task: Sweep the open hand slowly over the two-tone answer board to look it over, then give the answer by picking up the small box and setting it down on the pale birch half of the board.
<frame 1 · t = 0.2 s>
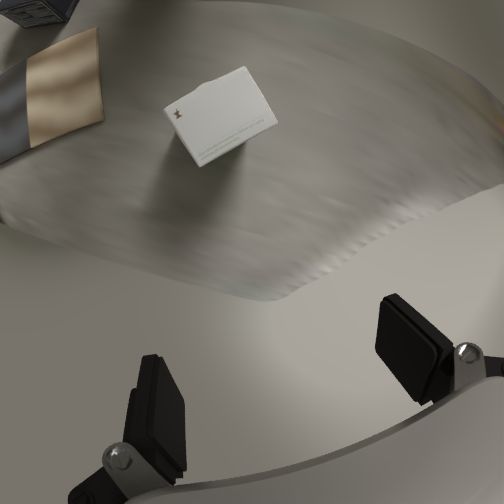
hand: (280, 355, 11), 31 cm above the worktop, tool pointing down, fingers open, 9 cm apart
skincare box: (212, 129, 36), on the worktop
answer board: (29, 101, 27), on the worktop
small box: (52, 10, 22), on the worktop
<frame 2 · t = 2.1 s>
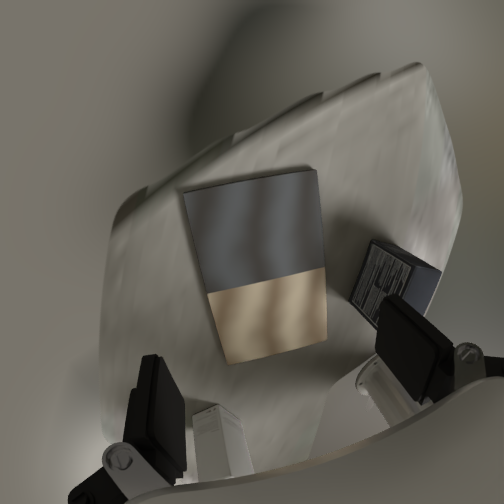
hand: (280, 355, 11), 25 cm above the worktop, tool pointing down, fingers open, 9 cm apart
skincare box: (218, 417, 47), on the worktop
answer board: (266, 277, 37), on the worktop
small box: (374, 273, 41), on the worktop
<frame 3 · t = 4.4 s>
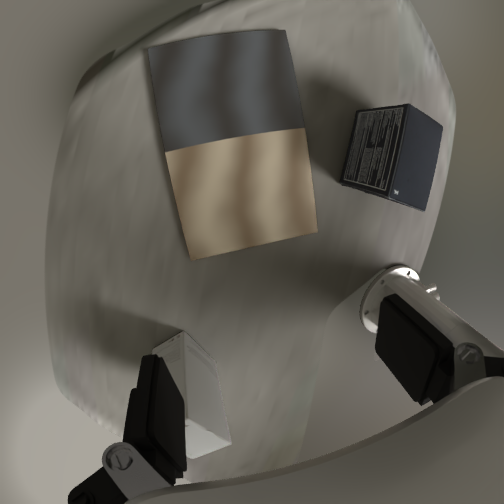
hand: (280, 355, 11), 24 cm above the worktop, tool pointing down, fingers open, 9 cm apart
skincare box: (186, 354, 39), on the worktop
answer board: (235, 137, 30), on the worktop
small box: (366, 153, 33), on the worktop
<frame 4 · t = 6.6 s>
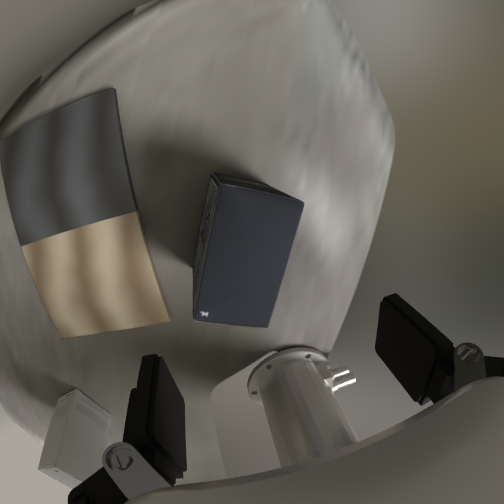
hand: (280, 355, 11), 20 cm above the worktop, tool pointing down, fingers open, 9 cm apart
skincare box: (86, 405, 35), on the worktop
answer board: (73, 227, 26), on the worktop
small box: (230, 226, 29), on the worktop
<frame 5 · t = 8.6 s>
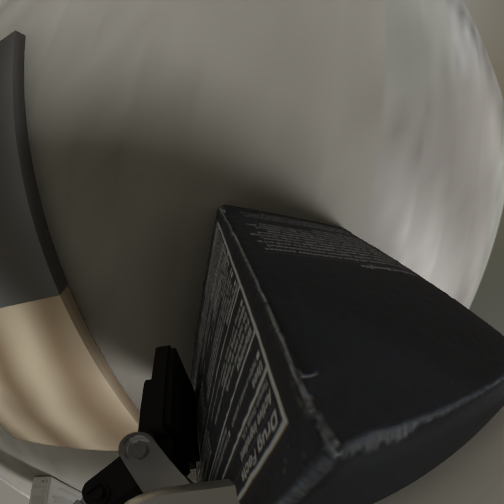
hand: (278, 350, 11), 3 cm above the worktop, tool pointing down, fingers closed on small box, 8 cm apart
skincare box: (67, 488, 20), on the worktop
small box: (263, 317, 14), on the worktop, touching gripper
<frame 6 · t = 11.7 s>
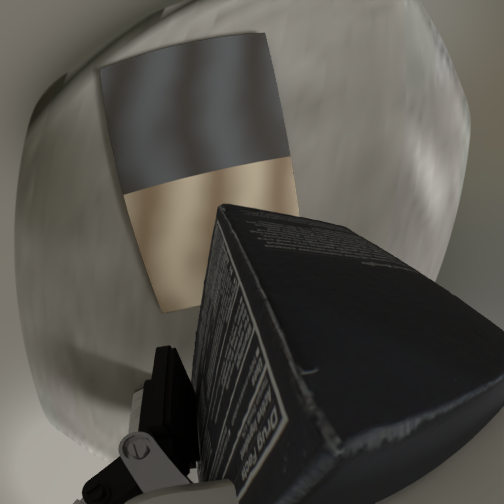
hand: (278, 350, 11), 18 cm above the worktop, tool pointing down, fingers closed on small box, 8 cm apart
skincare box: (168, 398, 35), on the worktop
answer board: (205, 172, 25), on the worktop
small box: (263, 316, 14), point 15 cm above the worktop, touching gripper
when the fingers open (5 cm above the worktop, at t = 15.0 s): small box drops 1 cm, resting on answer board.
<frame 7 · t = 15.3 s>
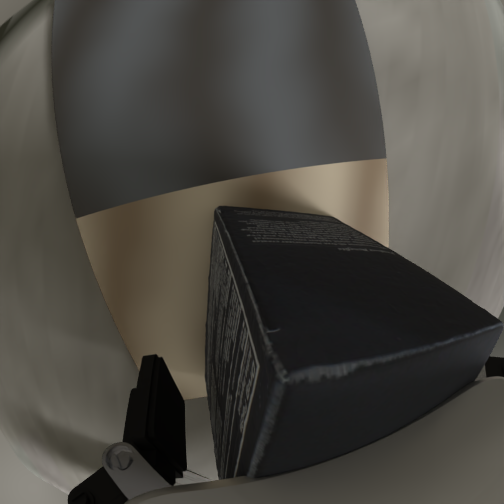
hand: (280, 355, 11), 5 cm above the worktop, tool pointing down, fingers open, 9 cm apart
skincare box: (170, 473, 23), on the worktop
answer board: (235, 176, 13), on the worktop
small box: (266, 304, 15), point 1 cm above the worktop, touching answer board
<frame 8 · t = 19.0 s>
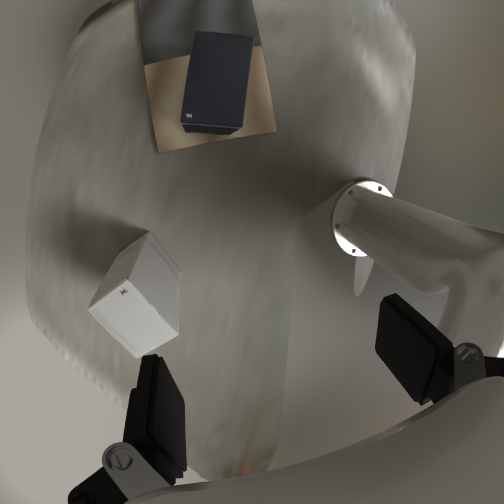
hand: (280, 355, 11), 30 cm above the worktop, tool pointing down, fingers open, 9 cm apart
skincare box: (151, 262, 40), on the worktop
answer board: (202, 54, 30), on the worktop
small box: (213, 96, 32), point 1 cm above the worktop, touching answer board
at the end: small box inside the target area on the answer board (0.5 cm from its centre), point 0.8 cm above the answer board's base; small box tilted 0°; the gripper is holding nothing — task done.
